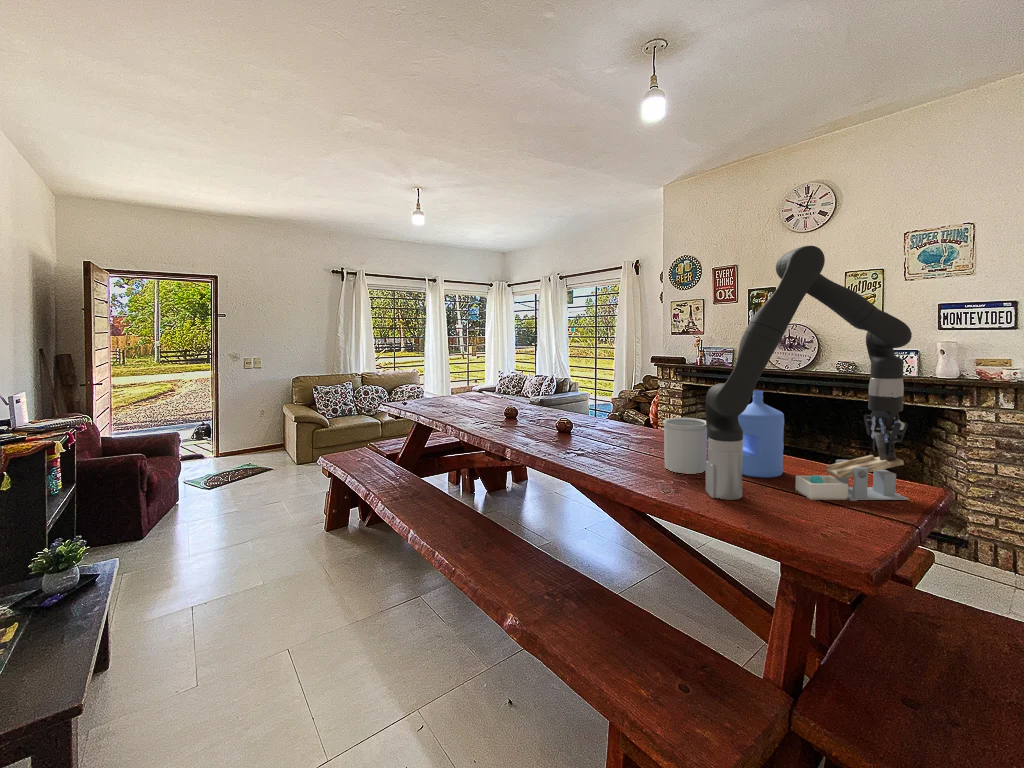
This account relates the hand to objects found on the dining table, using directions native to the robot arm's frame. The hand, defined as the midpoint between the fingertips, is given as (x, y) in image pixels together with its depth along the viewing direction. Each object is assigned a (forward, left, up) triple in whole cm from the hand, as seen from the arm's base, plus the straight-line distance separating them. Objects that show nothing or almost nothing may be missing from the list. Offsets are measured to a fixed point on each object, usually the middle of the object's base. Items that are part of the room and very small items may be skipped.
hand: (883, 453), depth 126 cm
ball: (-18, 0, -8) cm, 19 cm away
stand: (-4, 0, -12) cm, 13 cm away
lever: (-5, 0, -5) cm, 7 cm away
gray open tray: (-16, 0, -12) cm, 21 cm away
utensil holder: (-47, +26, -12) cm, 55 cm away
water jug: (-24, +23, -12) cm, 36 cm away
